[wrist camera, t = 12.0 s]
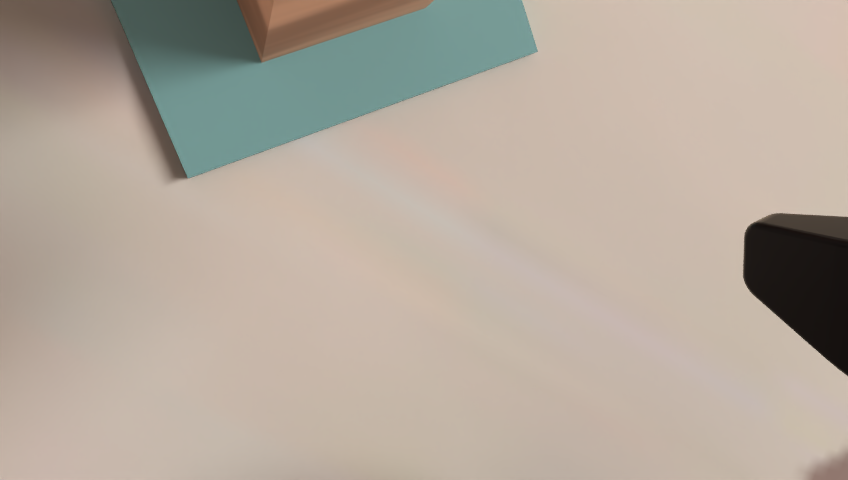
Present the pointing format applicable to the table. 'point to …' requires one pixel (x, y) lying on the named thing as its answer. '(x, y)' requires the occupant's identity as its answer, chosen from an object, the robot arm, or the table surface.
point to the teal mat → (302, 70)
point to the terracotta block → (314, 21)
